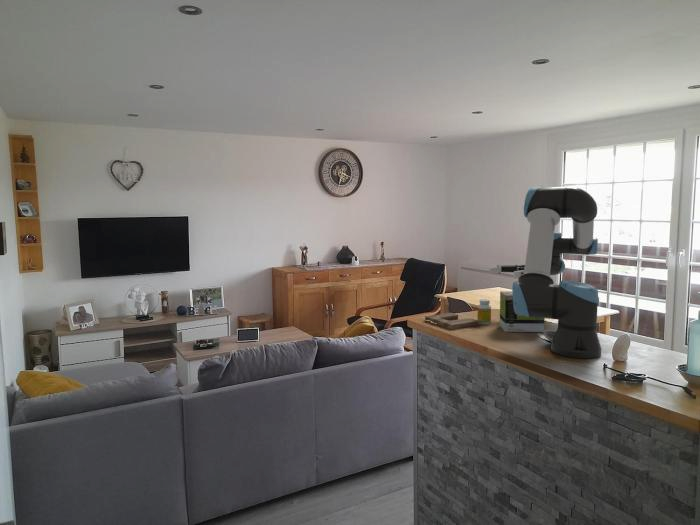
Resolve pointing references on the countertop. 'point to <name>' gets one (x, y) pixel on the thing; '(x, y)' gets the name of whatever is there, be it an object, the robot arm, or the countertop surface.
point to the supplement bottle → (484, 312)
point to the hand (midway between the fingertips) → (501, 272)
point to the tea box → (516, 317)
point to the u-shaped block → (452, 321)
